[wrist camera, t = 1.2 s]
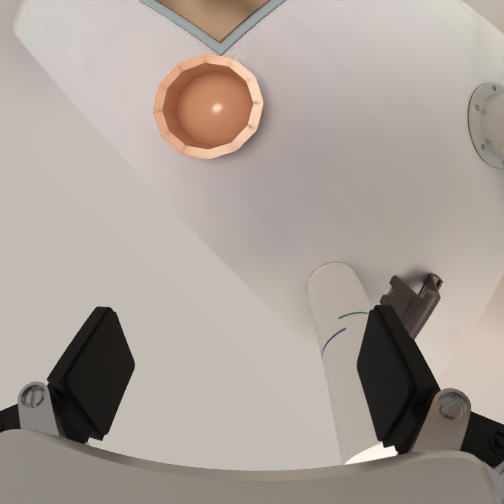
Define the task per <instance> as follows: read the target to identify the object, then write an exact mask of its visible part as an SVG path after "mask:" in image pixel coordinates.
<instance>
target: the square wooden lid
mask: <svg viewBox="0 0 504 504" xmlns="http://www.w3.org/2000/svg"><path fill="white" fill-rule="evenodd" d="M155 1H157V2H159V3H160V4H162V5H164V6H165V7H167V8H169V9H170V10H172V11H173V12H175V13H176V14H178V15H180V16H181V17H183V18H184V19H186V20H187V21H189V22H190V23H192V24H193V25H195V26H196V27H198V28H199V29H200V30H202V31H203V32H205V33H206V34H208V35H209V36H210V37H212V38H213V39H214V40H216V41H217V42H218V43H221V42H223V41H224V40H225V39H226V38H227V37H228V36H229V35H230V34H231V33H232V32H233V31H235V30H236V29H237V28H238V27H239V26H240V25H241V24H243V23H244V22H245V21H246V20H247V19H248V18H250V17H251V16H252V15H253V14H254V13H256V12H257V11H258V10H259V9H261V8H262V7H263V6H264V5H266V4H267V3H268V2H270V1H271V0H155Z"/></svg>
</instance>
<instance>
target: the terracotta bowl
mask: <svg viewBox="0 0 504 504" xmlns="http://www.w3.org/2000/svg"><path fill="white" fill-rule="evenodd" d="M159 85H160V86H159V87H158V91H157V95H156V100H155V105H154V109H153V111H154V112H153V113H154V116H155V119H156V122H157V125H158V128H159V131H160V134H161V136H162V138H163V139H164V140H166V141H167V142H168V143H169V144H170V145H171V146H173V147H174V148H175V149H176V150H177V151H178V152H179V153H181V154H182V155H188V156H193V157H198V158H203V159H208V160H209V159H212V158H216V157H219V156H222V155H225V154H228V153H231V152H235V151H237V150H238V149H239V148H240V147H241V146H242V145H243V144H244V143H245V142H246V141H247V140H248V139H249V138H250V137H251V136H252V135H253V134H254V133H255V132H256V131H257V129H258V125H259V121H260V118H261V114H262V110H263V105H264V101H263V98H262V95H261V92H260V89H259V86H258V83H257V80H256V77H255V75H253V74H252V73H251V72H250V71H249V70H247V69H246V68H245V67H244V66H243V65H241V64H240V63H239V62H238V61H236V60H235V59H233V58H229V57H223V56H217V55H209V54H203V55H200V56H197V57H195V58H192V59H189V60H187V61H184V62H181V63H179V64H177V65H176V66H175V67H174V68H173V70H172V71H171V72H170V73H169V74H168V75H167V76H166V77H165V79H164V80H163V81H162V82H161V83H160V84H159Z"/></svg>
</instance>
